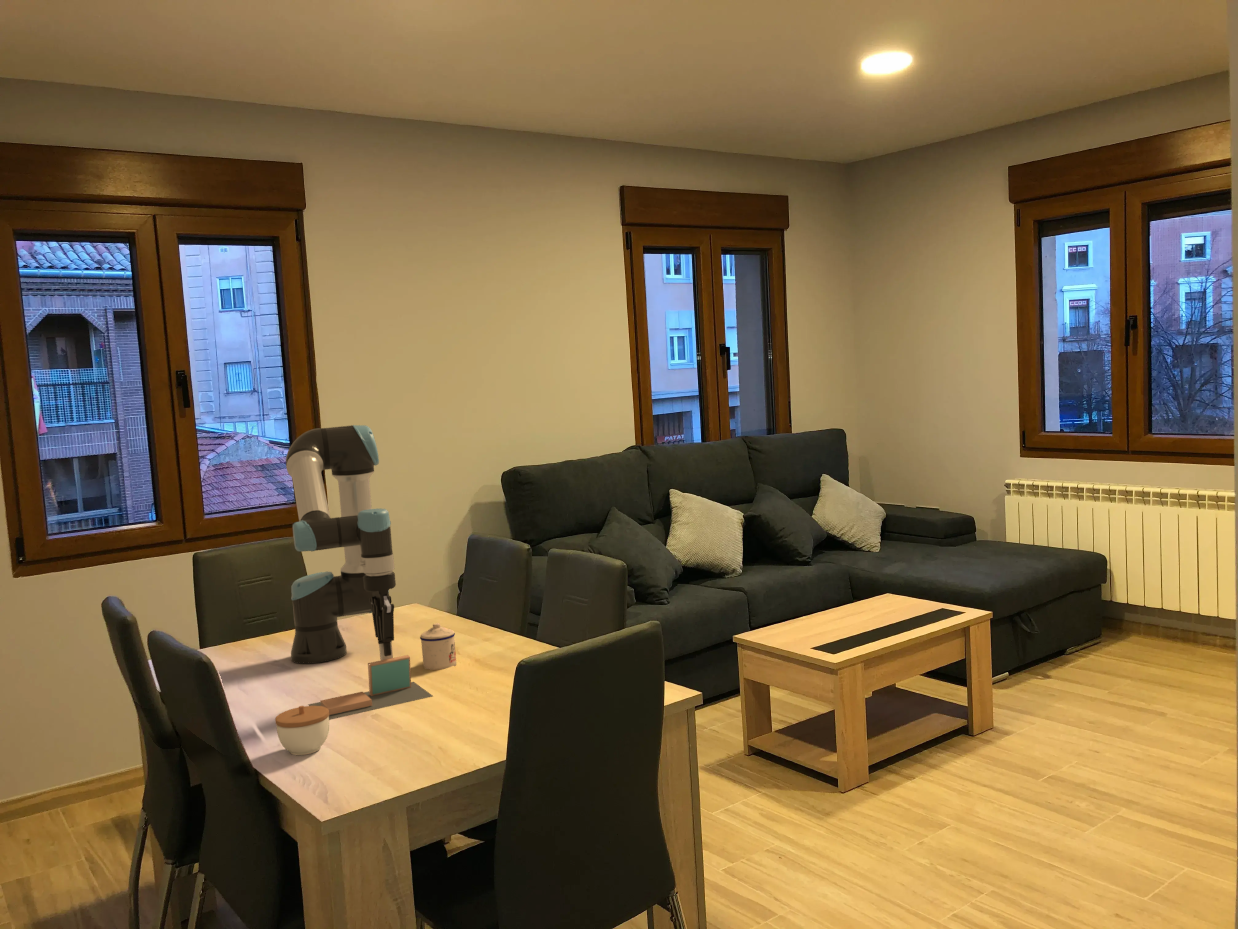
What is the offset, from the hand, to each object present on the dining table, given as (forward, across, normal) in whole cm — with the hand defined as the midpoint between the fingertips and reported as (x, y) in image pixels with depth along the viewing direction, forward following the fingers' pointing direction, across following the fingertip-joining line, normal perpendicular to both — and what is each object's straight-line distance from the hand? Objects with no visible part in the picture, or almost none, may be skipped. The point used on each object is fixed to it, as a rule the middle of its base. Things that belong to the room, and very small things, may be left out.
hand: (387, 667), depth 244 cm
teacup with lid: (+6, -14, +18) cm, 24 cm away
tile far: (+6, +1, 0) cm, 6 cm away
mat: (+6, +5, -6) cm, 10 cm away
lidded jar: (+7, +27, -26) cm, 38 cm away
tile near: (+5, +2, -12) cm, 13 cm away
